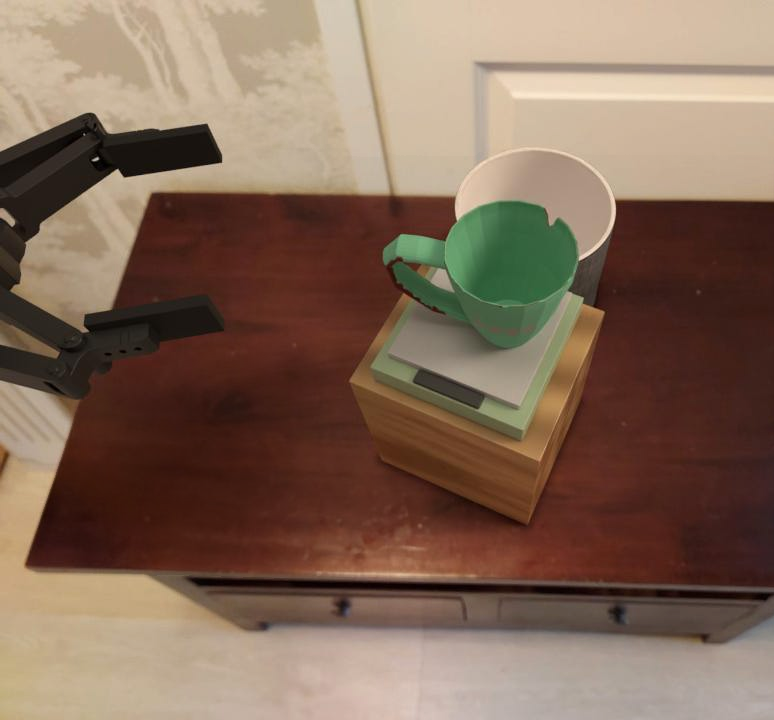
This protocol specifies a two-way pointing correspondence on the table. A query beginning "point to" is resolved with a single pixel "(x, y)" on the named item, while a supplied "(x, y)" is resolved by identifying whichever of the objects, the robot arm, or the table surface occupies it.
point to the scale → (473, 363)
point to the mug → (492, 269)
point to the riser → (476, 428)
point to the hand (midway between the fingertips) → (216, 221)
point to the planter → (550, 201)
